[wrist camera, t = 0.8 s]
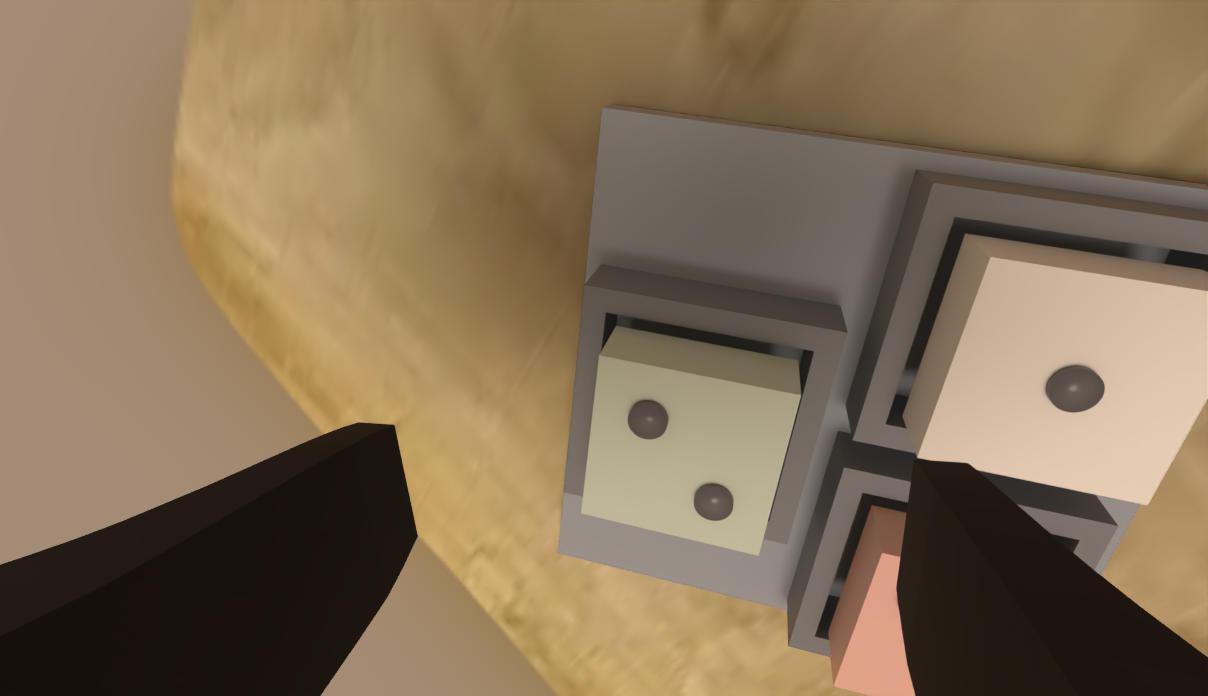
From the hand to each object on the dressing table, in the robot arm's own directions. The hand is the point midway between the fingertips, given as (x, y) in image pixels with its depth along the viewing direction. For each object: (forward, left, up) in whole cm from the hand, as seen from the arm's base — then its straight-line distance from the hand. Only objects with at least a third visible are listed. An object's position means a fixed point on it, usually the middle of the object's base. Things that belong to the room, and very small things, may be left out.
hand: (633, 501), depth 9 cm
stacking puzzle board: (-4, +3, -10) cm, 12 cm away
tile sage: (0, +3, -7) cm, 8 cm away
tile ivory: (-7, -1, -7) cm, 10 cm away
